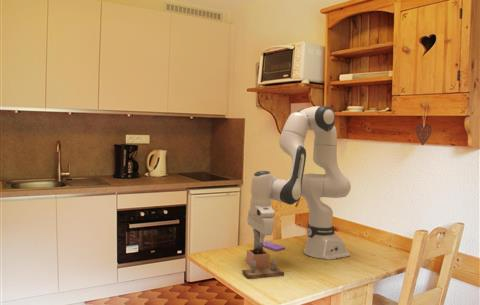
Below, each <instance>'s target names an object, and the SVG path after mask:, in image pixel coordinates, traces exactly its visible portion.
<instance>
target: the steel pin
mask: <svg viewBox="0 0 480 305" xmlns="http://www.w3.org/2000/svg"><path fill="white" fill-rule="evenodd" d="M259 237H260V232H259V231H257V230H255V234H254V233H253V249H254V252H253V254H254V255H256V254H263V249H264V247H263V242H259Z"/></svg>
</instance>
